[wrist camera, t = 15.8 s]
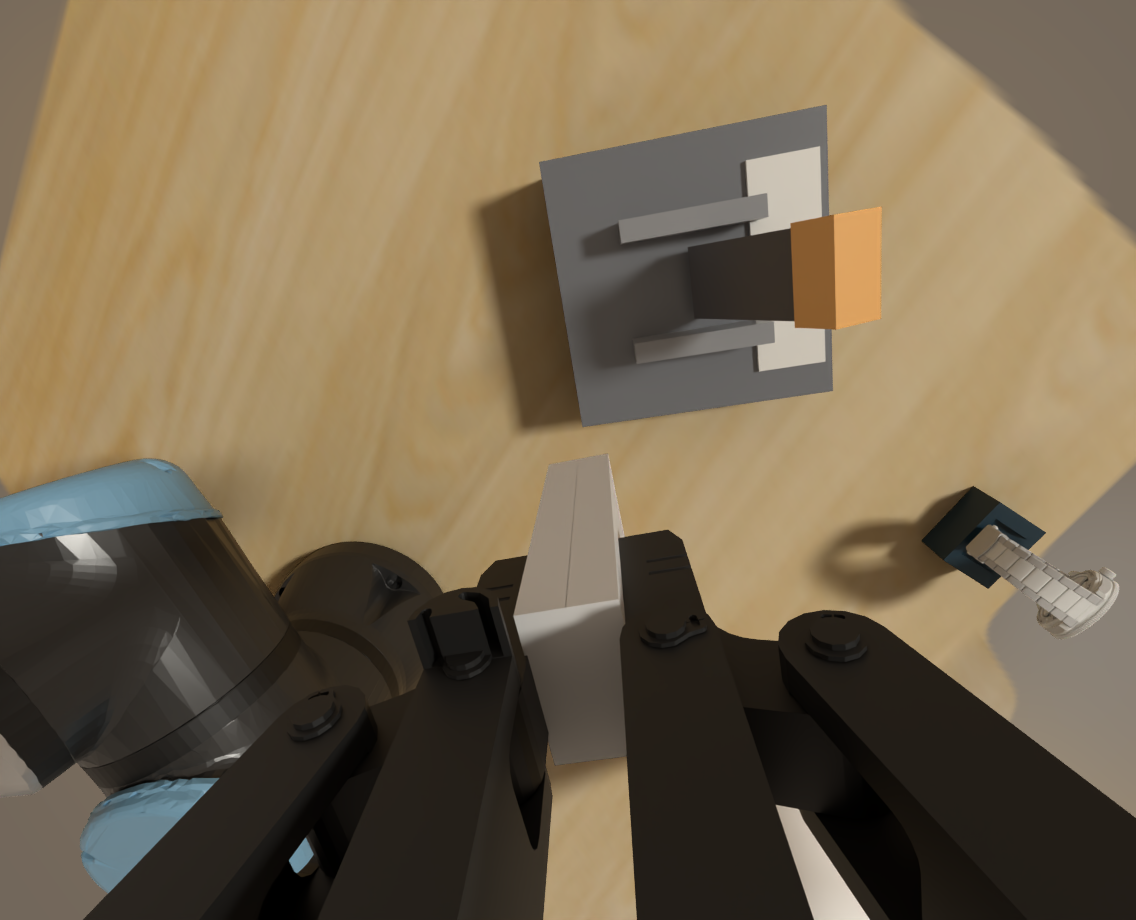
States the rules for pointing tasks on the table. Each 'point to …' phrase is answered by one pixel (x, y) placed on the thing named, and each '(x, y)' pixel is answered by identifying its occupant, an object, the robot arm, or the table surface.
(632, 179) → the box
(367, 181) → the table surface
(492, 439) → the table surface
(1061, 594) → the watch
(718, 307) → the lever
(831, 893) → the bottle
